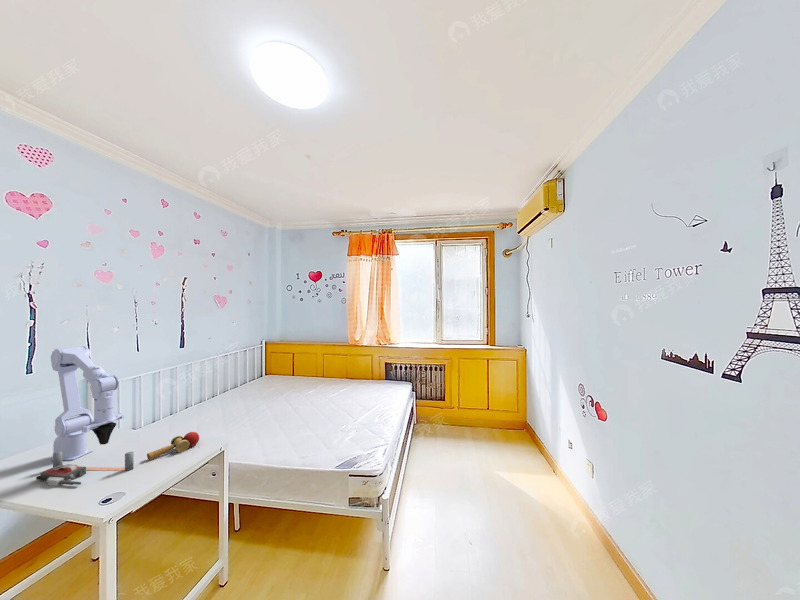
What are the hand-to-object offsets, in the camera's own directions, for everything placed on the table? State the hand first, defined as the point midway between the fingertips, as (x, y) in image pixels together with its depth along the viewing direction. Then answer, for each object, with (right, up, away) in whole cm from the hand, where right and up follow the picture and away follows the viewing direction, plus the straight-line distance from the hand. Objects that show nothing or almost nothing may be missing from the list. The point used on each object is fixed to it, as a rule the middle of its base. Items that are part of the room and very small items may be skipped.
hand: (104, 443), depth 119 cm
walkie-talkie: (-3, -8, -11) cm, 14 cm away
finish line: (0, -8, -4) cm, 9 cm away
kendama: (+21, -8, +9) cm, 24 cm away
